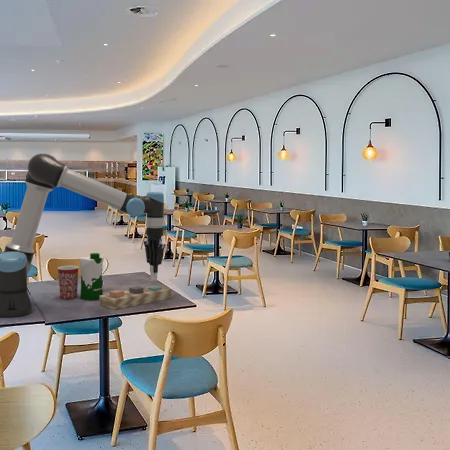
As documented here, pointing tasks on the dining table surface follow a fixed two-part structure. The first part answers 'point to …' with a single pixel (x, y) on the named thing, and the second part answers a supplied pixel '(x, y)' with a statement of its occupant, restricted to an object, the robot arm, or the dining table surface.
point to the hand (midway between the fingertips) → (153, 279)
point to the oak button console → (134, 298)
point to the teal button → (154, 288)
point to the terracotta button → (116, 293)
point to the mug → (68, 281)
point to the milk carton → (91, 276)
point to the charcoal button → (136, 290)
